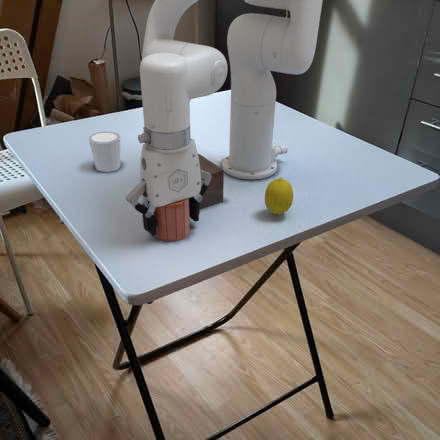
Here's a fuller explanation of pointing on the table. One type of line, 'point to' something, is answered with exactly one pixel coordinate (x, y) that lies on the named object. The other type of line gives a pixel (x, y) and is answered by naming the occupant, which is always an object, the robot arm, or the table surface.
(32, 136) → the table surface
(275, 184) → the lemon
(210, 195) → the shelf
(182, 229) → the cup
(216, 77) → the robot arm
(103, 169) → the white short cylinder
